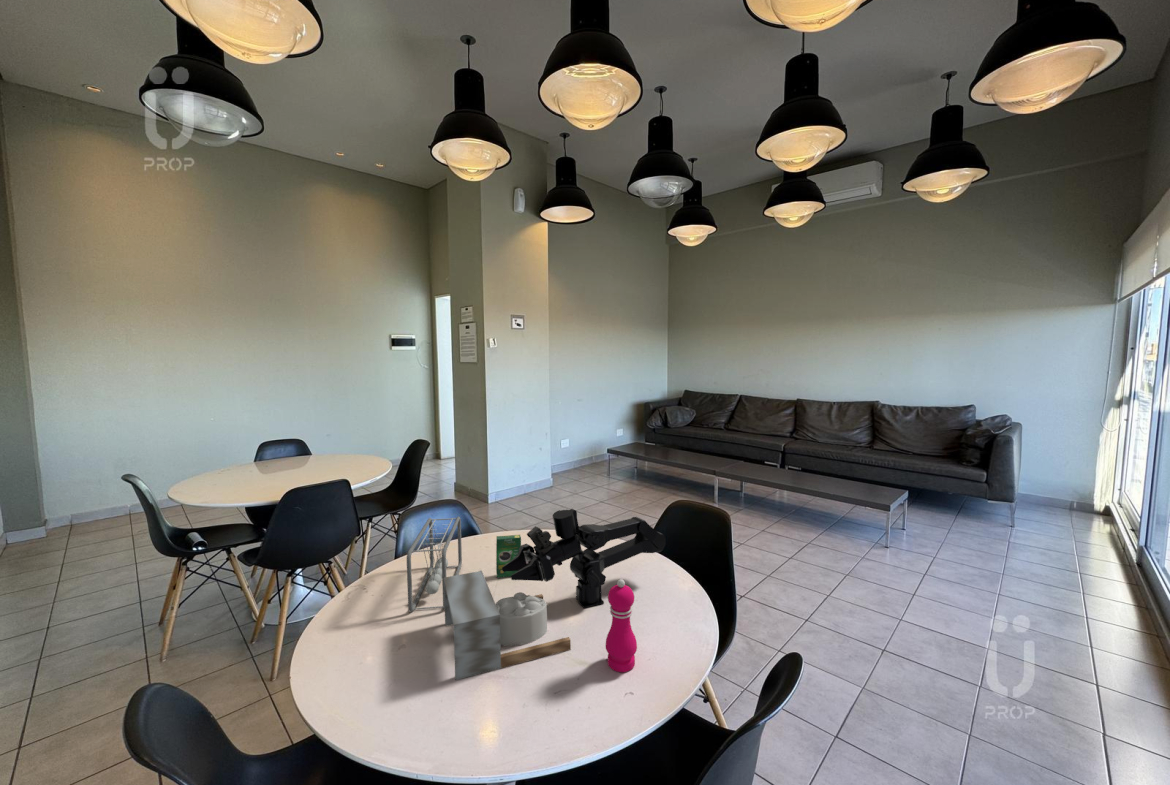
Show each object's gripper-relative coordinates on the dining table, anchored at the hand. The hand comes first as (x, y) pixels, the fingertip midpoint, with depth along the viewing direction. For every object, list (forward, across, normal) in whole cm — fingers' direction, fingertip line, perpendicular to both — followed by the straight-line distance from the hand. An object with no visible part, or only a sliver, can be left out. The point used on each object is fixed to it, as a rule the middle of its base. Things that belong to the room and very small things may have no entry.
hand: (506, 573), depth 120 cm
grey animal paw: (0, +2, +15) cm, 15 cm away
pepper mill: (-16, +23, +22) cm, 36 cm away
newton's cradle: (+16, -31, +6) cm, 36 cm away
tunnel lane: (+5, +2, +14) cm, 15 cm away
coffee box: (-6, -30, +10) cm, 32 cm away
